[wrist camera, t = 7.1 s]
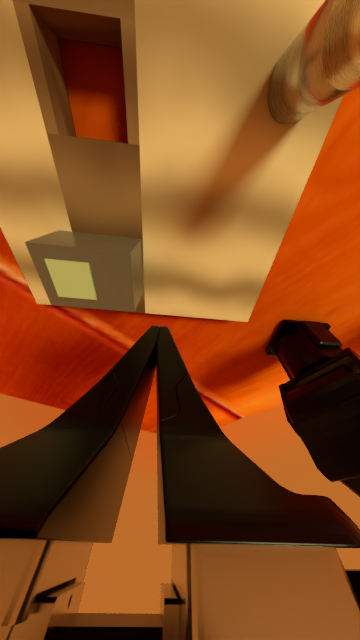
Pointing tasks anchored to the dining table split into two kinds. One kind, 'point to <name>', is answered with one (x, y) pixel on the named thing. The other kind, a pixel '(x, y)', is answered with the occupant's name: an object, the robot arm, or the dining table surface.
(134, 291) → the block
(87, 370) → the dining table surface
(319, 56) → the peg
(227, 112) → the subfloor board
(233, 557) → the robot arm
